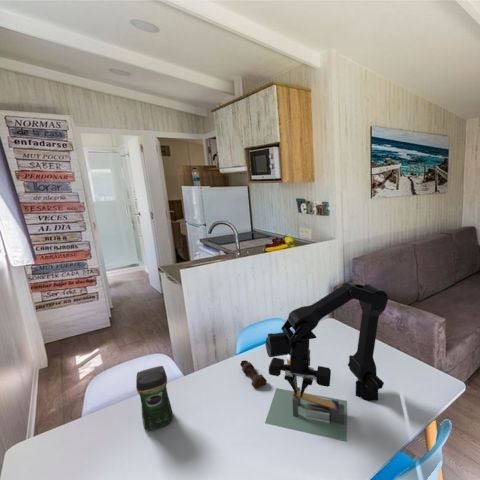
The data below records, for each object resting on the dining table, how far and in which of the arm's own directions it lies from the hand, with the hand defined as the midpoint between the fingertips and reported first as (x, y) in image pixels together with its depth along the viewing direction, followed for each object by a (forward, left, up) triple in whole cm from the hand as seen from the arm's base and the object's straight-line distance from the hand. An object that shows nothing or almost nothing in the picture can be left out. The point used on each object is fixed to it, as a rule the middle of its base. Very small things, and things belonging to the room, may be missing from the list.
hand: (299, 394), depth 94 cm
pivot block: (-11, 0, -6) cm, 12 cm away
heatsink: (-6, 0, -6) cm, 8 cm away
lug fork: (+1, 0, -6) cm, 6 cm away
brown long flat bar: (-5, 0, -1) cm, 5 cm away
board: (-2, 0, -7) cm, 7 cm away
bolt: (+20, -13, -7) cm, 25 cm away
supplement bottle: (+5, -19, -7) cm, 21 cm away
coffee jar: (+44, +16, -7) cm, 47 cm away
